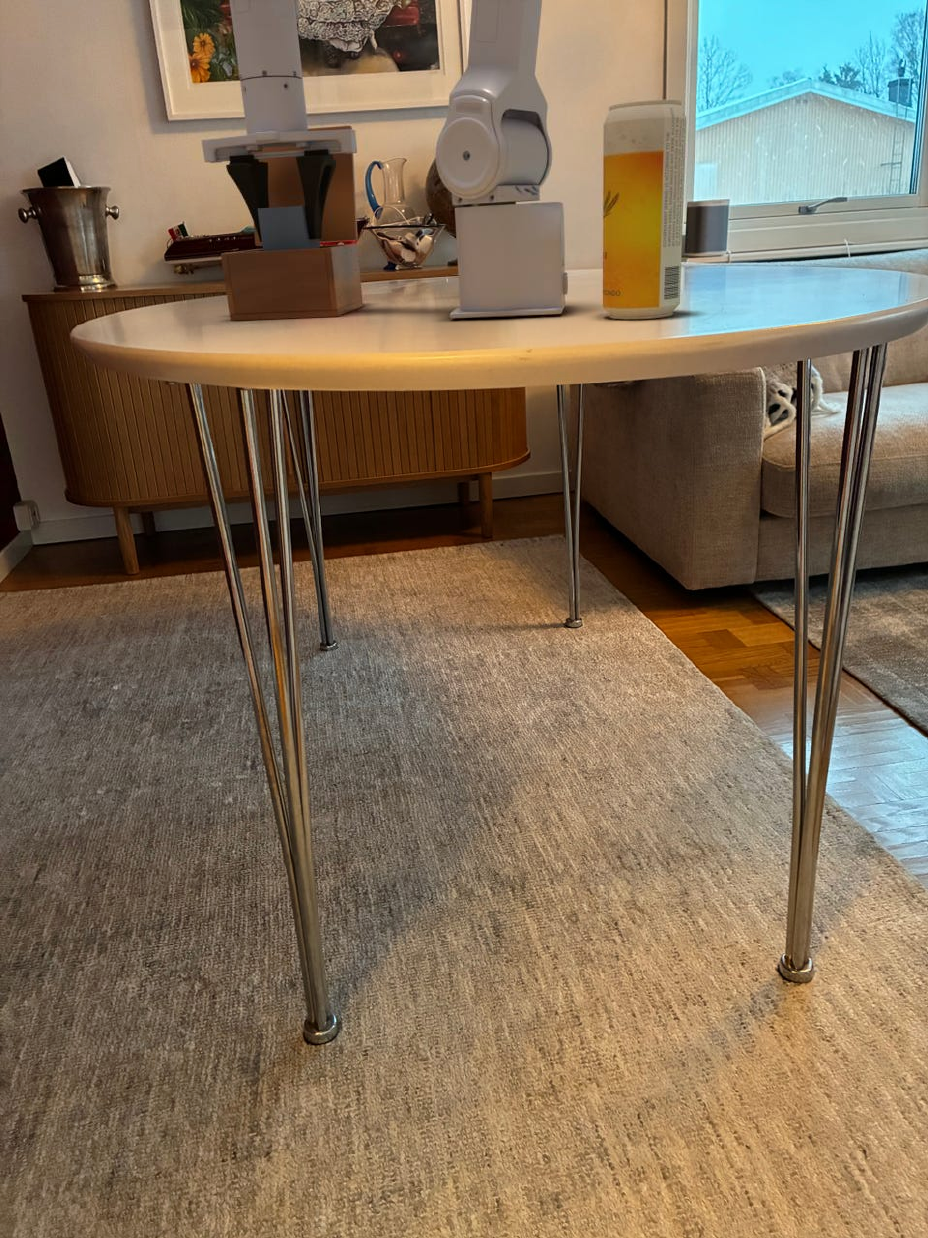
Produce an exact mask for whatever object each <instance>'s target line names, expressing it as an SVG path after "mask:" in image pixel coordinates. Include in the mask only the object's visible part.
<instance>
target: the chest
mask: <svg viewBox="0 0 928 1238" xmlns="http://www.w3.org/2000/svg"><path fill="white" fill-rule="evenodd" d="M358 248H359V247H358V243H346V244H330V245H329V244H328V245H327V244H325V245H320V248H313V249H294V250H276V251H263V248H256V249H247V250H240V251H231V252H224V253H220V257H221V265H222V272H223V278H224V284H225V292H226V298H227V304H228V306H227V307H228V310H229V317H230V322H238V321H239V322H241V321H263V320H265V321H266V320H286V319H308V318H309V319H311V318H312V319H313V318H333V317H335V318H337V317H339V316H342V315H345V314H347V313H349V312H352V311H355V310H357V309H360V308H361V307H364V303H363V302H364V301H363V290H362V280H361V269H360V259H359V249H358Z"/></svg>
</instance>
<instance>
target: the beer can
mask: <svg viewBox="0 0 928 1238" xmlns="http://www.w3.org/2000/svg"><path fill="white" fill-rule="evenodd" d="M682 103H683V102H682V100H679V99H652V100H649V99H648V100H639V101H638V100H637V101H629V102H623V103H617V104H613V105H610V106H609V107H608V113H607V115H606V118H605V120H604V123H603V139H602V140H603V142H602V143H603V144H602V146H603V147H602V148H603V153H602V154H603V156H602V157H603V158H602V160H603V161H602V163H603V164H602V166H603V167H602V169H603V171H602V172H603V173H602V174H603V175H602V176H603V177H602V188H603V189H602V200H603V201H602V206H603V207H602V307H603V310H605V311H606V312H607V314H608V317H609V318H610V319H614V320H616V319H617V320H648V319H649V320H650V319H660V318H667V317H670V316H673V314H674V311H675V310H676V309H677V308H678V306H679V305H680V304H681V284H682V283H681V282H682V280H681V279H682V255H683V254H682V251H683V229H684V228H683V226H684V225H683V224H684V201H685V200H684V197H685V168H686V145H687V119H688V118H687V116H686V113H685V110H684V108H683V105H682Z"/></svg>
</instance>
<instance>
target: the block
mask: <svg viewBox="0 0 928 1238" xmlns="http://www.w3.org/2000/svg"><path fill="white" fill-rule="evenodd" d="M258 215H259V223H260V230H261V238H262V246H261V247H262V249H263V251H276V250H294V249H313V248H320V246H321V245H320V242H319V239H309V235H308V229H307V223H306V210H305V206H291V207H274V208H258Z"/></svg>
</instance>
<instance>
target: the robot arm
mask: <svg viewBox="0 0 928 1238" xmlns="http://www.w3.org/2000/svg"><path fill="white" fill-rule="evenodd" d="M299 3H300V0H229V7H230V15H231V24H232V30H233V36H234V45H235V52H236V60H237V61H236V62H237V68H238V76H239V84H240V92H241V99H242V106H243V114H244V123H245V130H246V134H243V135H242V134H241V135H234V136H233V135H232V136H226V137H218V138H206V139H201V147H202V152H203V153H202V155H203V161H204V163H211V164H217V163H223V162H229V164H226V165H225V168H226V171H227V174H228V175H229V177H230V178H231V179H232V181H233V183H234V184H235V186H236V188H237V190H238V191H239V193H240V195H241V197H242V199H243V200H244V202H245V205H246V207H247V209H248V211H249V214H250V215H251V219H252V221H253V225H254V224H255V227H256V230H257V233H258V236H259V240H260V242H262V238H261V230H260V223H259V215H258V208H269V196H268V162H259V159H267V158H282V157H296V156H298V157H296V161H297V165H298V169H299V174H300V178H301V183H302V188H303V194H304V200H305V210H306V223H307V229H308V235H309V239H321V238H322V220H323V213H324V207H325V201H326V197H327V193H328V189H329V186H330V183H331V179H332V177H333V174H334V171H335V168H336V160H334V159H333V155H332V154H339V153H346V154H349V153H353V154H357V153H358V147H357V135H356V129H355V130H354V129H353V128H352V129H340V130H318V131H308V129H309V125H308V116H307V114H308V113H307V107H306V97H305V87H304V80H303V79H304V78H303V69H302V60H301V50H300V41H299V40H300V39H299V31H298V22H299V17H301V14H300V4H299ZM542 7H543V0H471V10H470V11H471V12H470V25H469V37H468V51H467V53H468V54H467V66H466V68H465V70H464V72H463V74H462V76H461V77H459V79H458V81H457V82H456V84H455V85H454V87H453V88H452V90H451V91H450V93H449V96H448V108H447V109H448V110H447V115H446V119H445V121H444V124H443V127H442V129H441V131H440V133H439V135H438V138H437V141H436V146H435V165H436V170H437V174H438V177H439V178H440V180H441V182H442V184H443V185H444V186H445V189H447V190H448V191H449V192H450V193H451V200H452V206H459V207H454V217H455V218H454V219H455V238H456V255H457V274H458V275H457V276H458V294H459V307H458V308H456V309H454V310H453V311H451V312H450V313H449V318H450V319H469V318H470V319H472V318H493V317H494V318H495V317H519V316H539V315H540V316H543V315H560V314H562V313H563V310H564V309H565V306H566V295H568V293H569V275H568V272H566V262H565V261H566V258H565V255H566V254H565V253H566V251H565V250H566V249H565V248H566V247H565V242H566V241H565V211H564V203H563V202H562V201H549V202H539V201H540V200H541V198H540V197H541V196H540V195H541V191H540V189H541V188H542V186H543V185H544V184H545V182H546V181H547V179H548V177H549V175H550V172H551V168H552V164H553V148H552V142H551V139H550V136H549V132H548V125H547V121H548V119H547V117H548V108H549V106H548V102H547V99H546V98H545V95H544V92H543V90H542V88H541V86H540V84H539V82H538V79H537V77H536V66H537V57H538V56H537V55H538V47H539V36H540V28H541V27H540V25H541V16H542ZM286 146H297V148H310V149H307V150H293V151H279V152H265V153H251V152H260V151H263V148H266V147H286ZM522 202H523V203H522ZM525 202H530V203H525ZM473 205H474V206H473ZM475 205H476V206H475Z"/></svg>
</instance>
